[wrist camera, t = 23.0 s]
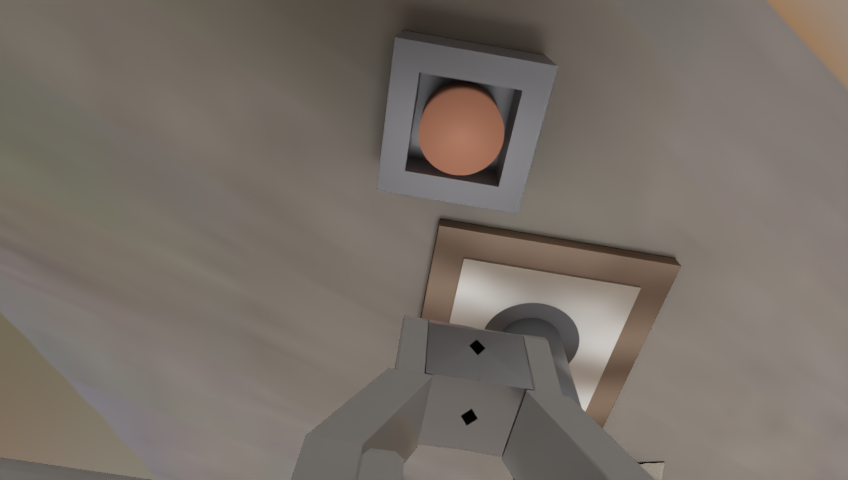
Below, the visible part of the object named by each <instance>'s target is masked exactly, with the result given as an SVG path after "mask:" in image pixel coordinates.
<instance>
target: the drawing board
mask: <svg viewBox="0 0 848 480" xmlns="http://www.w3.org/2000/svg"><path fill="white" fill-rule="evenodd" d="M680 267H681V265H680V264H679V263H678V262H677V260H676V259H675V258H670V257H664V256H658V255H652V254H646V253H640V252H634V251H628V250H622V249H616V248H610V247H604V246H598V245H592V244H586V243H580V242H574V241H568V240H562V239H556V238H550V237H544V236H538V235H532V234H526V233H521V232H515V231H509V230H503V229H497V228H491V227H485V226H479V225H473V224H467V223H461V222H455V221H449V220H443V219H440V221H439V226H438V231H437V236H436V242H435V247H434V252H433V257H432V262H431V267H430V273H429V278H428V283H427V288H426V293H425V298H424V304H423V309H422V314H421V318H424V319H427V320H429V319H430V320H436V321H441V322H447V323H452V324H458V325H463V326H469V327H474V328H478V329H484V330H491V331H497V332H502V331H503V330H504V329H505V328H506V327H507V326H508V325H509V324H511V323H513V322H515V321H517V320H520V319H524V318H538V319H542V320H545V321H547V322H549V323H551V324H552V325H553V326H554V327H555V328H556V329H557V331H558V332H559V335H560V338H561V341H562V345H563V348H564V351H565V354H566V358H567V361H568V364H569V368H570V371H571V374H572V378H573V381H574V384H575V387H576V391H577V394H578V397H579V401H580V404H581V407H582V409H583V410H584V411H585V412H586V413H587V414H588V415H589V416H590V417H591V418H592V419H593V420H594V421H595V422H596V423H597V424H598V425H599V426H600V427H601V428H603V426H604V424H605V422H606V420H607V418H608V416H609V414H610V412H611V410H612V408H613V406H614V404H615V402H616V400H617V397H618V395H619V393H620V391H621V389H622V387H623V385H624V383H625V381H626V379H627V377H628V375H629V373H630V371H631V369H632V367H633V364H634V362H635V360H636V358H637V356H638V354H639V352H640V350H641V348H642V346H643V344H644V342H645V340H646V338H647V336H648V333H649V331H650V329H651V327H652V325H653V323H654V321H655V319H656V317H657V315H658V313H659V311H660V309H661V307H662V305H663V303H664V300H665V298H666V296H667V294H668V292H669V290H670V288H671V286H672V284H673V282H674V280H675V278H676V276H677V274H678V272H679V270H680Z"/></svg>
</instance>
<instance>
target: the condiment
mask: <svg viewBox="0 0 848 480" xmlns="http://www.w3.org/2000/svg"><path fill="white" fill-rule="evenodd" d="M639 465H640V466H641V467H642V468H643V469H644V470H645V471H646V472H648V473H649V474H650V475H651V476H652V477H653V478H654V479H655V480H662V475H663V470H664V463H644V464H639Z"/></svg>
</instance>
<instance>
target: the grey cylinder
mask: <svg viewBox="0 0 848 480" xmlns="http://www.w3.org/2000/svg"><path fill="white" fill-rule="evenodd" d="M502 332H504V333H510V334H517V335H521V334H522V335H530V336H537V337H545V338H546V340H547V341H548V344H549V348H550V351H551V355H552V358H553V362H554V366H555V369H556V373H557V377H558V380H559V384H560V388H561V391H562V395H563V396H569V397H571V398H572V399H573V400H574V401H575V402H576V403H577V404H578V405H579V406H580V407H581V404H580V401H579V397H578V394H577V391H576V387H575V384H574V381H573V378H572V374H571V371H570V368H569V364H568V361H567V358H566V354H565V351H564V348H563V345H562V341H561V338H560V335H559V332H558V331H557V329H556V328H555V327H554V326H553V325H552V324H551V323H549V322H547V321H545V320H542V319H538V318H524V319H520V320H517V321H515V322H513V323H511V324H509V325H508V326H507V327H506V328H505V329H504V330H503V331H502ZM581 408H582V407H581ZM513 480H515V479H514V478H513Z"/></svg>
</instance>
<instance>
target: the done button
mask: <svg viewBox="0 0 848 480" xmlns="http://www.w3.org/2000/svg"><path fill="white" fill-rule="evenodd" d="M418 138H419V144H420V147H421V150H422V152H423V154H424V156H425V157H426V159H427V160H428V161H429V162H430V163H431V164H432V165H433V166H434V167H436V168H437V169H439V170H440V171H442V172H445V173H448V174H452V175H470V174H473V173H476V172H479V171H481V170H483V169H484V168H486V167H487V166H488V165H490V164H491V163H492V162H493V161H494V159H495V158H496V157H497V155H498V154H499V152H500V150H501V148H502V145H503V141H504V124H503V120H502V117H501V114H500V111H499V108H498V106H497V103H496V102H495V100H494V98H493V97H492V95H491V94H490V93H489V92H488V91H487V90H485V89H484V88H483V87H481V86H479V85H477V84H474V83H471V82H465V81H458V82H452V83H449V84H446V85H444V86H442V87H440V88H439V89H437V90H436V91H435V92H434V93H433V94H432V95H431V96H430V97H429V99H428V100H427V102H426V104H425V106H424V109H423V112H422V116H421V120H420V124H419V131H418Z"/></svg>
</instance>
